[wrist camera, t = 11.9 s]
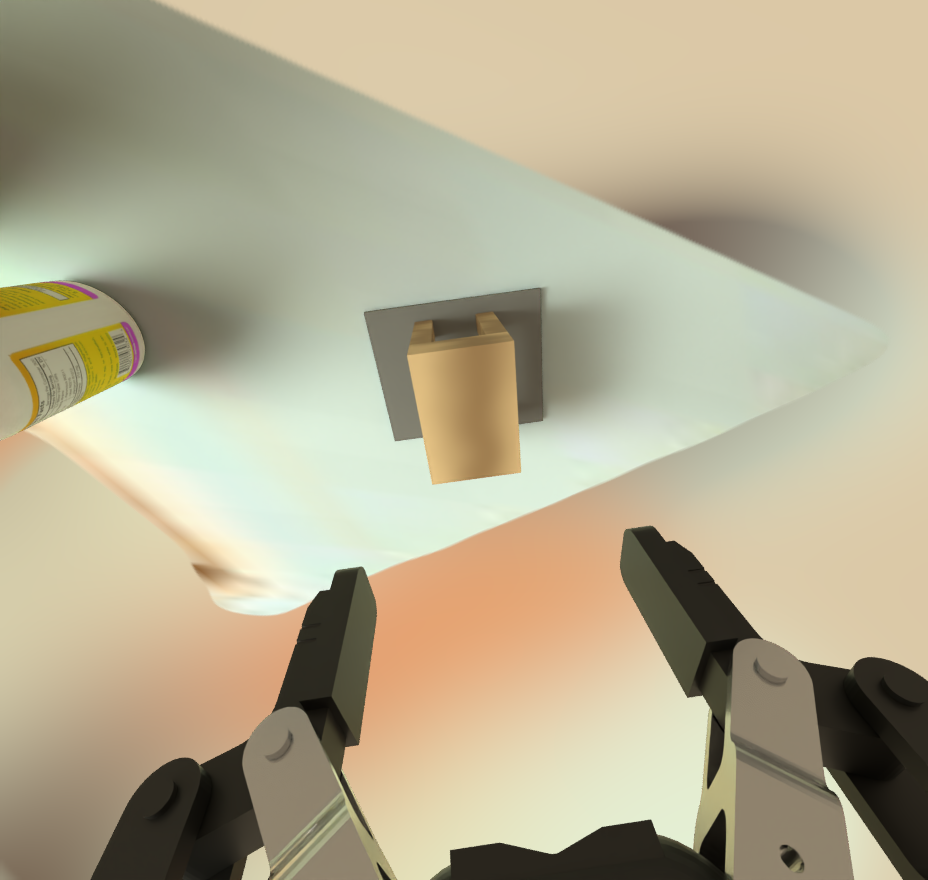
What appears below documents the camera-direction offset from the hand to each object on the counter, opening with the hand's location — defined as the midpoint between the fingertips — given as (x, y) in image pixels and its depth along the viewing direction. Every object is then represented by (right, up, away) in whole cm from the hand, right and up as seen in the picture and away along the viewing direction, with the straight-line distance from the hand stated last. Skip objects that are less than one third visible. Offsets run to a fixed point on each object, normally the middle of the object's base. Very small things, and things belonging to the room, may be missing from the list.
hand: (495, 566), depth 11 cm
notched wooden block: (-1, +9, +16) cm, 18 cm away
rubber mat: (-1, +9, +16) cm, 19 cm away
